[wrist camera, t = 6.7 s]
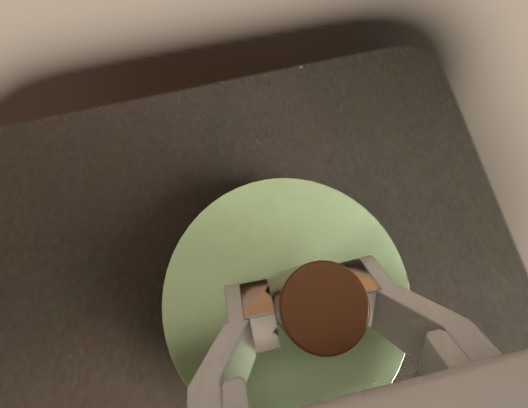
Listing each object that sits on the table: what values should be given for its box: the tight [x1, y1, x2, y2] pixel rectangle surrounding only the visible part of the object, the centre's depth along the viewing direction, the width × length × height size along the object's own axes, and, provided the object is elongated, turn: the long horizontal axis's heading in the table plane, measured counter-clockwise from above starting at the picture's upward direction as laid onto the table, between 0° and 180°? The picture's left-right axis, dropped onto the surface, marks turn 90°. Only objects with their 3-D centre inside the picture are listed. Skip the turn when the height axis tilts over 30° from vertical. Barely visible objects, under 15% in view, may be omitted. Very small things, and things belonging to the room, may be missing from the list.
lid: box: [162, 178, 410, 408], centre depth 12 cm, size 12×12×8 cm
